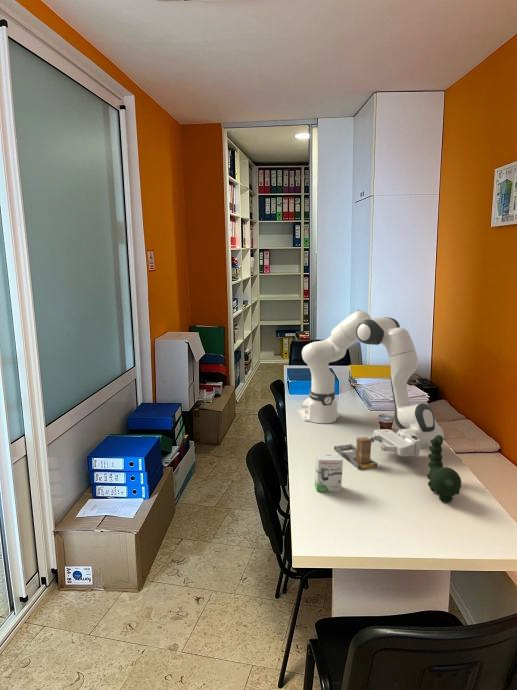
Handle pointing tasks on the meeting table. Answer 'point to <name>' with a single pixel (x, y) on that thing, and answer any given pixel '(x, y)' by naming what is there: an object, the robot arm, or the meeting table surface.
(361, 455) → the walnut peg
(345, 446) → the tray
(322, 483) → the ink box
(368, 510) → the meeting table surface
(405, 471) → the meeting table surface
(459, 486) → the toy figurine
